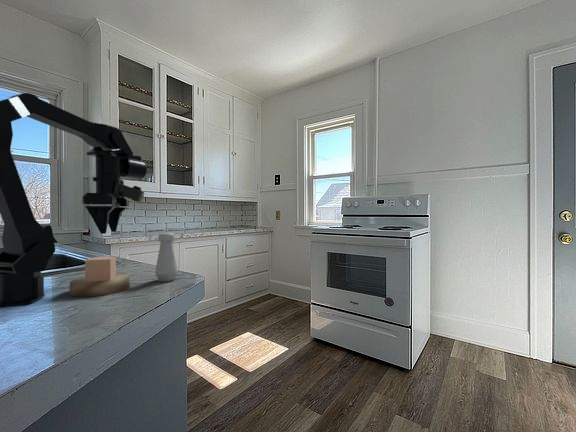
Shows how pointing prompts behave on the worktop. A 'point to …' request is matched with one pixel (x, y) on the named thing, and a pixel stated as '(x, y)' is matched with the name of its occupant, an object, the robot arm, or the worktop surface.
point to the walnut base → (99, 286)
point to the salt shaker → (166, 258)
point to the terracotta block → (100, 269)
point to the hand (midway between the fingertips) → (108, 232)
